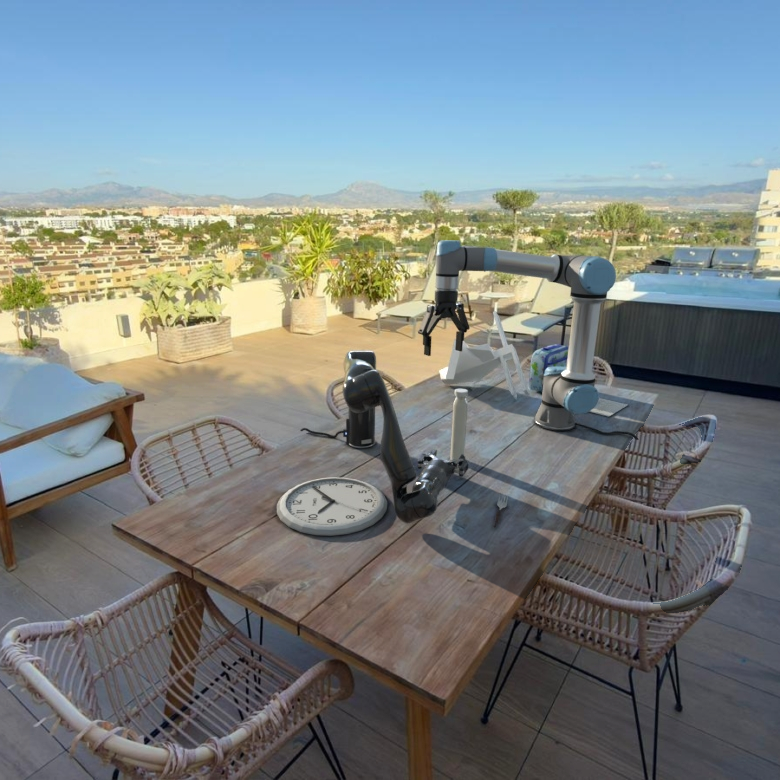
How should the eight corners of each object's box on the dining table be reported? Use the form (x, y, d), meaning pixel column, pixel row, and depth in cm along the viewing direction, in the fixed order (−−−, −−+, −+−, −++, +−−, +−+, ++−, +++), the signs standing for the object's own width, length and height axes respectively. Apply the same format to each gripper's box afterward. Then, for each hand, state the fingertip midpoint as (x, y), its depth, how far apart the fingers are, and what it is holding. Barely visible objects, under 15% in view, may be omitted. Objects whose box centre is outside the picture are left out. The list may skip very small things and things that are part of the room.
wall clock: (392, 527, 129) (268, 531, 127) (391, 533, 130) (269, 537, 127) (383, 473, 158) (282, 475, 155) (383, 478, 158) (282, 480, 156)
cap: (452, 393, 167) (452, 389, 166) (464, 392, 168) (464, 388, 167) (457, 397, 163) (458, 392, 162) (469, 396, 164) (469, 391, 164)
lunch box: (545, 397, 238) (550, 352, 231) (524, 391, 245) (529, 348, 239) (572, 386, 255) (578, 344, 249) (552, 381, 262) (557, 340, 256)
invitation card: (608, 416, 214) (573, 407, 224) (608, 416, 214) (573, 408, 224) (628, 404, 229) (594, 396, 238) (628, 405, 229) (594, 397, 238)
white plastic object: (461, 429, 252) (437, 405, 227) (444, 352, 274) (420, 323, 250) (535, 404, 240) (518, 377, 215) (510, 326, 262) (492, 293, 237)
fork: (489, 527, 133) (489, 520, 132) (498, 498, 147) (499, 492, 147) (499, 529, 132) (500, 523, 132) (508, 500, 147) (508, 494, 146)
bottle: (448, 458, 173) (451, 390, 166) (460, 456, 175) (464, 389, 168) (453, 463, 169) (457, 394, 162) (466, 462, 171) (470, 393, 164)
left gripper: (459, 469, 142) (472, 447, 156) (410, 461, 147) (427, 439, 161) (458, 494, 144) (471, 470, 159) (409, 485, 149) (426, 462, 164)
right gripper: (467, 286, 180) (463, 346, 186) (408, 289, 167) (406, 354, 173) (482, 288, 174) (478, 350, 181) (422, 292, 161) (420, 359, 167)
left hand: (448, 454), depth 160 cm, fingers open, 8 cm apart
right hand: (443, 352), depth 177 cm, fingers open, 13 cm apart
